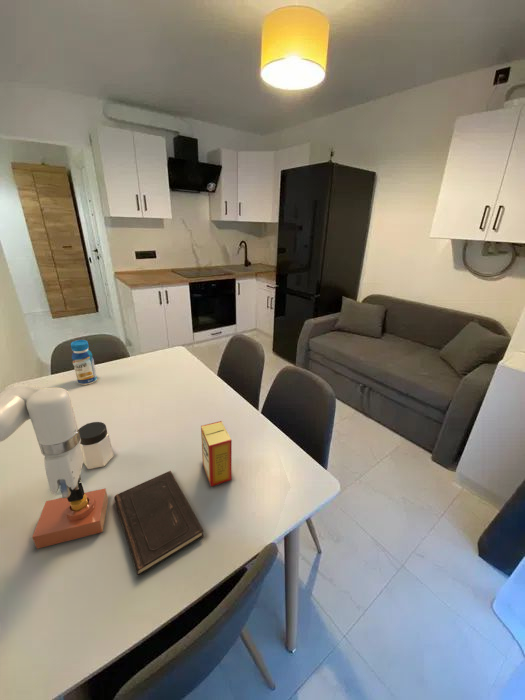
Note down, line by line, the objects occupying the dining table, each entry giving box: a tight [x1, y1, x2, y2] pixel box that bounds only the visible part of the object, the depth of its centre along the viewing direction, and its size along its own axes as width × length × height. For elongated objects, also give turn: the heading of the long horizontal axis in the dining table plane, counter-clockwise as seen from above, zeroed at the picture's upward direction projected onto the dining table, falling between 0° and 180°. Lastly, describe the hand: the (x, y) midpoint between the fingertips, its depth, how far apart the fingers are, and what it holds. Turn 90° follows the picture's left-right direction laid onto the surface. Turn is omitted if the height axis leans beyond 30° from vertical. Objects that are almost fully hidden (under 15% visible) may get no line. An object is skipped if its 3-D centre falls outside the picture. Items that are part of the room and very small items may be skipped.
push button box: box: [31, 487, 109, 549], centre depth 74 cm, size 14×10×6 cm
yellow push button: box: [70, 494, 88, 511], centre depth 73 cm, size 4×4×2 cm
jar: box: [78, 421, 114, 470], centre depth 92 cm, size 9×8×12 cm
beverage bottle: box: [70, 339, 98, 386], centre depth 135 cm, size 8×8×20 cm
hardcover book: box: [114, 470, 205, 576], centre depth 77 cm, size 16×23×2 cm
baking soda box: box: [200, 420, 233, 487], centre depth 89 cm, size 10×6×16 cm
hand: (76, 497), depth 72 cm, fingers closed
